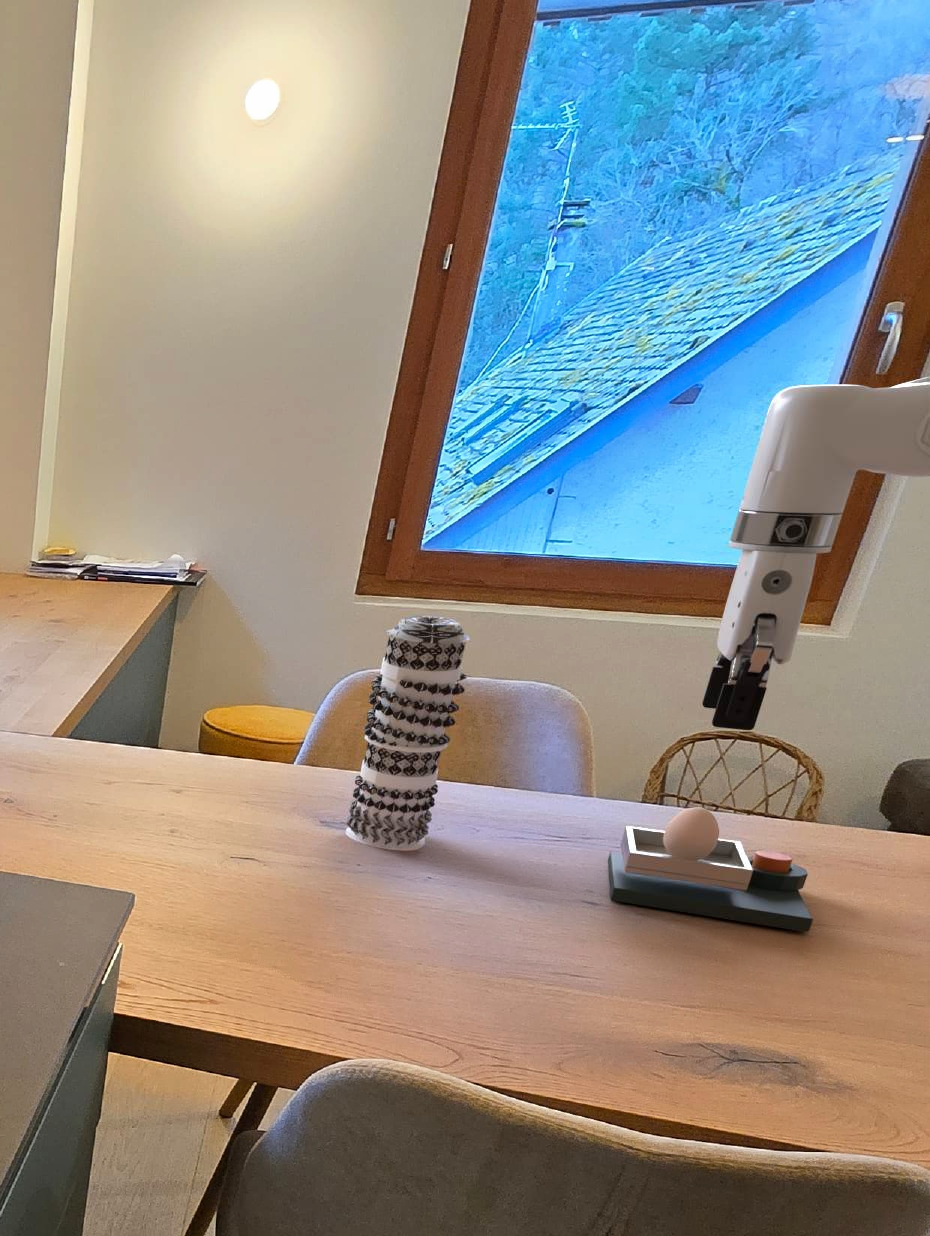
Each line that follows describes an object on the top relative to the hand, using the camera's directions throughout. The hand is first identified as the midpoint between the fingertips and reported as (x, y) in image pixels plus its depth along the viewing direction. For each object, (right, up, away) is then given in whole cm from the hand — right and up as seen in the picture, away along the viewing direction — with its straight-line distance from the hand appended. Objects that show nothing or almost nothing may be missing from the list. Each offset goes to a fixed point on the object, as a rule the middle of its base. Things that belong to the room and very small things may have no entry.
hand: (726, 718), depth 115 cm
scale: (+3, -17, +7) cm, 18 cm away
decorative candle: (-22, -10, +22) cm, 33 cm away
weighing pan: (0, -14, +6) cm, 15 cm away
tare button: (+9, -14, +6) cm, 18 cm away
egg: (0, -14, +6) cm, 15 cm away
